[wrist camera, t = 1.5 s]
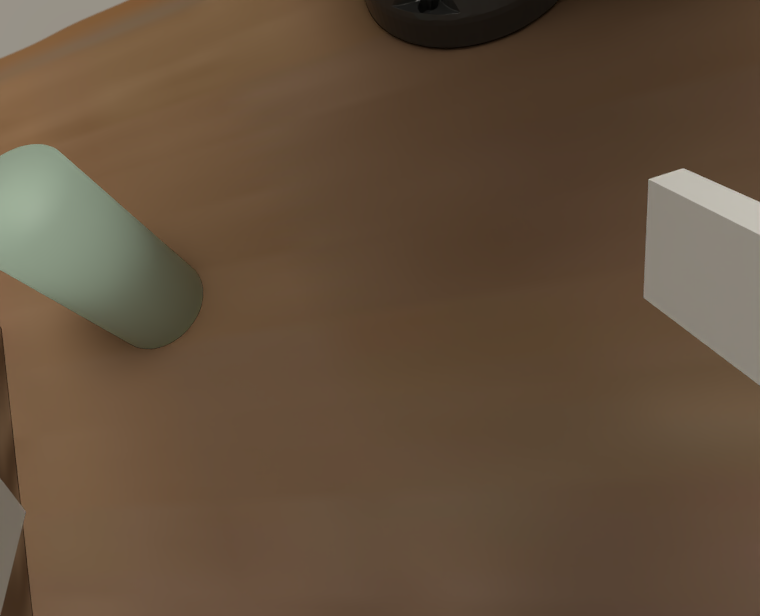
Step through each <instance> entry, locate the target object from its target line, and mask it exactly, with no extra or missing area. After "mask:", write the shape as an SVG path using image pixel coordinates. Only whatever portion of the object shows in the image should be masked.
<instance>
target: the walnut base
mask: <svg viewBox="0 0 760 616" xmlns="http://www.w3.org/2000/svg"><path fill="white" fill-rule="evenodd" d="M0 479H1V480H2V481H3V482H4V484H5V485H6V486H7V488H8V489H9V490H10V492H11V493H12V494H13V495H14V497H15V498H16V499H17V501H18V502H19V503H20V497H19V488H18V479H17V470H16V461H15V451H14V442H13V433H12V424H11V415H10V406H9V396H8V387H7V378H6V369H5V360H4V350H3V341H2V332H1V327H0ZM0 616H32V608H31V598H30V589H29V580H28V571H27V562H26V552H25V543H24V534H23V526H22V530H21V534H20V538H19V542H18V546H17V550H16V554H15V558H14V562H13V566H12V570H11V574H10V578H9V582H8V586H7V590H6V594H5V599H4V603H3V607H2V611H1V615H0Z"/></svg>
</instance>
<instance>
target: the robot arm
mask: <svg viewBox="0 0 760 616" xmlns="http://www.w3.org/2000/svg"><path fill="white" fill-rule="evenodd" d="M365 1H366V4H367V7H368V9H369V11H370V13H371V15H372V16H373V18H374V19H375V20H376V22H377V23H378V24H379V25H380V26H381V27H382V28H384V29H385V30H386V31H387V32H389V33H391V34H392V35H394V36H396V37H398V38H400V39H402V40H404V41H407V42H410V43H414V44H418V45H423V46H429V47H442V48H444V47H462V46H470V45H475V44H480V43H484V42H488V41H491V40H494V39H497V38H500V37H503V36H505V35H508V34H510V33H512V32H514V31H517V30H519V29H521V28H522V27H524V26H526V25H528V24H529V23H531V22H533V21H534V20H536V19H537V18H538V17H540V16H541V15H542V14H544V13H545V12H546V11H547V10H549V9H550V8H551V7H552V6H553V5H554V4H555V3H556V2H557V1H558V0H365ZM643 298H645V299H646V300H647V301H648V302H650V303H651V304H652V305H654V306H655V307H656V308H658V309H659V310H660V311H662V312H663V313H664V314H666V315H667V316H668V317H670V318H671V319H672V320H674V321H675V322H676V323H678V324H679V325H680V326H682V327H683V328H684V329H686V330H687V331H688V332H690V333H691V334H692V335H694V336H695V337H696V338H698V339H699V340H700V341H701V342H703V343H704V344H705V345H707V346H708V347H709V348H711V349H712V350H713V351H715V352H716V353H717V354H719V355H720V356H721V357H723V358H724V359H725V360H727V361H728V362H729V363H731V364H732V365H733V366H735V367H736V368H737V369H739V370H740V371H741V372H743V373H744V374H745V375H747V376H748V377H749V378H751V379H752V380H753V381H754V382H756V383H757V384H758V385H760V202H758V201H756V200H754V199H752V198H749V197H747V196H745V195H743V194H740V193H738V192H736V191H734V190H731V189H729V188H727V187H725V186H722V185H720V184H718V183H716V182H713V181H711V180H709V179H707V178H704V177H702V176H700V175H698V174H695V173H693V172H691V171H689V170H686V169H684V168H682V169H679V170H676V171H673V172H670V173H667V174H663V175H660V176H657V177H654V178H651V179H649V180H648V203H647V226H646V249H645V272H644V296H643ZM25 514H26V511H25V510H24V508H23V507H22V506H21V505H20V503H19V502H18V501H17V499H16V498H15V497H14V495H13V494H12V493H11V492H10V490H9V489H8V488H7V486H6V485H5V484H4V482H3V481H2V480H1V479H0V615H1V611H2V607H3V603H4V599H5V594H6V590H7V586H8V582H9V578H10V574H11V570H12V566H13V562H14V558H15V554H16V550H17V546H18V542H19V538H20V534H21V530H22V526H23V522H24V518H25Z"/></svg>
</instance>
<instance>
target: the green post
mask: <svg viewBox="0 0 760 616" xmlns="http://www.w3.org/2000/svg"><path fill="white" fill-rule="evenodd" d="M0 270H1V271H3V272H5V273H7V274H8V275H10V276H12V277H14V278H15V279H17V280H19V281H21V282H22V283H24V284H26V285H28V286H29V287H31V288H33V289H35V290H36V291H38V292H40V293H42V294H43V295H45V296H47V297H49V298H50V299H52V300H54V301H56V302H57V303H59V304H61V305H63V306H64V307H66V308H68V309H70V310H71V311H73V312H75V313H77V314H78V315H80V316H82V317H84V318H86V319H87V320H89V321H91V322H93V323H94V324H96V325H98V326H100V327H101V328H103V329H105V330H107V331H108V332H110V333H112V334H114V335H115V336H117V337H119V338H121V339H122V340H124V341H126V342H128V343H129V344H131V345H133V346H135V347H138V348H143V349H153V348H159V347H162V346H165V345H167V344H170V343H171V342H173V341H175V340H176V339H178V338H179V337H180V336H182V335H183V334H184V333H185V332H186V331H187V330H188V329H189V328H190V326H191V325H192V324H193V322H194V321H195V319H196V317H197V315H198V313H199V311H200V308H201V305H202V299H203V287H202V282H201V280H200V277H199V276H198V274H197V272H196V271H195V270H194V269H193V268H192V267H191V266H190V265H188V264H187V263H186V262H185V261H184V260H183V259H182V258H180V257H179V256H178V255H177V254H176V253H175V252H174V251H172V250H171V249H170V248H169V247H168V246H167V245H166V244H164V243H163V242H162V241H161V240H160V239H159V238H158V237H156V236H155V235H154V234H153V233H152V232H151V231H150V230H148V229H147V228H146V227H145V226H144V225H143V224H142V223H140V222H139V221H138V220H137V219H136V218H135V217H134V216H132V215H131V214H130V213H129V212H128V211H127V210H126V209H124V208H123V207H122V206H121V205H120V204H119V203H118V202H116V201H115V200H114V199H113V198H112V197H111V196H110V195H108V194H107V193H106V192H105V191H104V190H103V189H102V188H100V187H99V186H98V185H97V184H96V183H95V182H94V181H92V180H91V179H90V178H89V177H88V176H87V175H86V174H84V173H83V172H82V171H81V170H80V169H79V168H78V167H76V166H75V165H74V164H73V163H72V162H71V161H70V160H68V159H67V158H66V157H65V156H64V155H63V154H62V153H60V152H59V151H58V150H57V149H55V148H53V147H50V146H47V145H42V144H32V145H26V146H21V147H18V148H15V149H13V150H11V151H8V152H6V153H5V154H3V155H1V156H0Z"/></svg>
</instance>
